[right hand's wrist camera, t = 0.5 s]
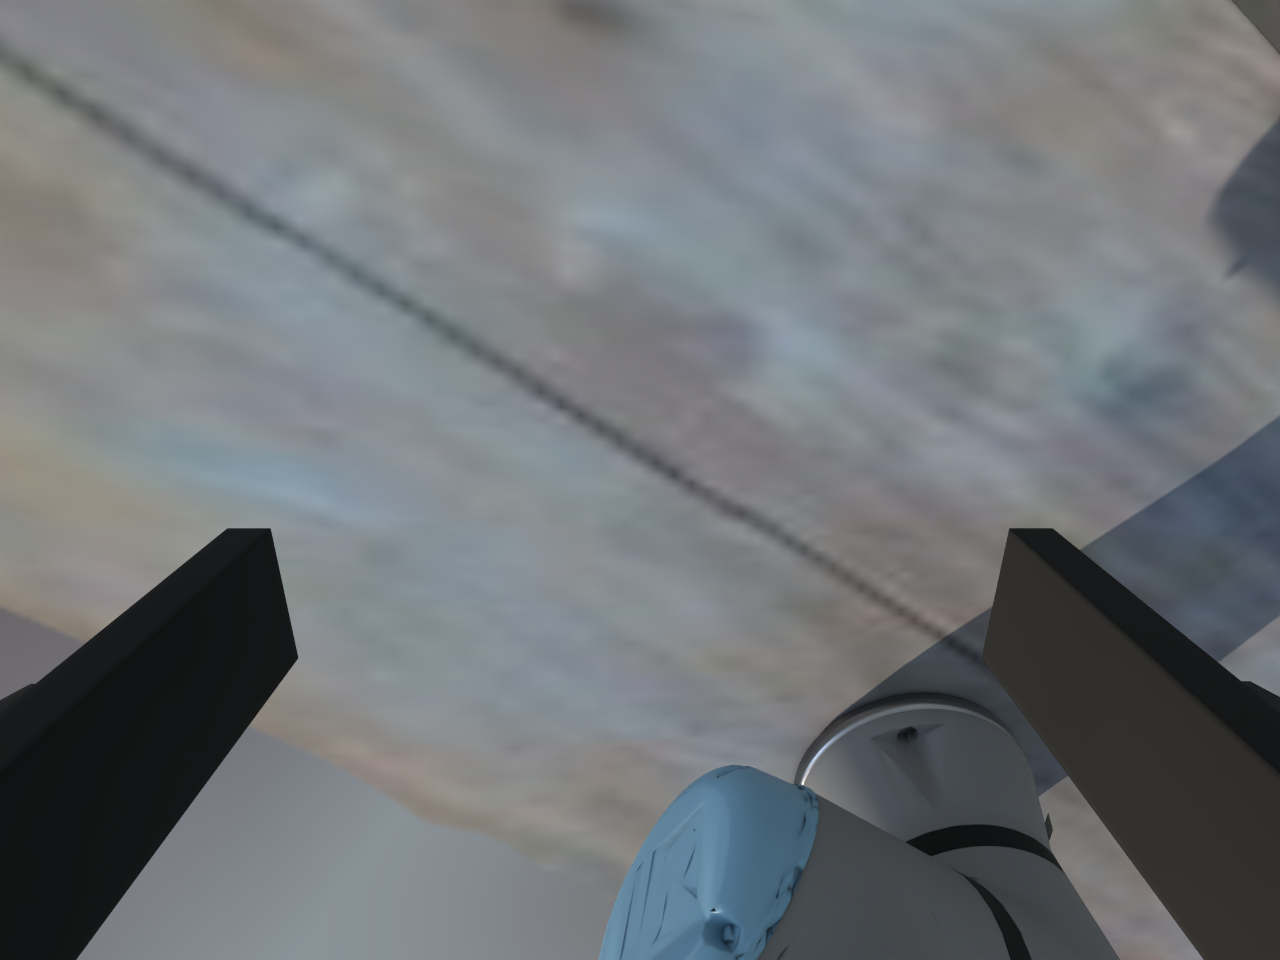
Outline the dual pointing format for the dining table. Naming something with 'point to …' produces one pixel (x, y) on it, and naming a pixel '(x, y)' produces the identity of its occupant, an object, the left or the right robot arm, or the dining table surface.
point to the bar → (1263, 18)
